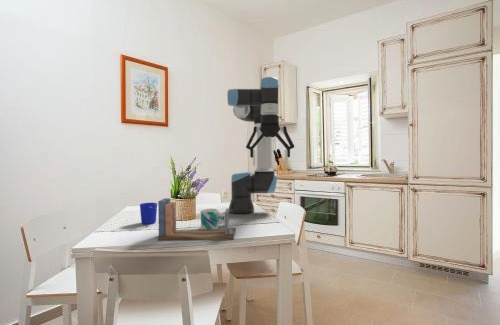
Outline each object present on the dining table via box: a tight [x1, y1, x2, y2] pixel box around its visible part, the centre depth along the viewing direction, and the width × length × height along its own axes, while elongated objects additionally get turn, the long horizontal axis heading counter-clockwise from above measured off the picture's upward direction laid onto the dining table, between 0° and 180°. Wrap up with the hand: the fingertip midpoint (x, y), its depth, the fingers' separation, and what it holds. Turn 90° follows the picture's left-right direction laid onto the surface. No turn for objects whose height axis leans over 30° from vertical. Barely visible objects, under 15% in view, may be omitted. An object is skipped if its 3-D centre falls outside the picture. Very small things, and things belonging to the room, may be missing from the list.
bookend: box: [224, 208, 237, 236], centre depth 120 cm, size 9×4×9 cm, turn 1°
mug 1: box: [139, 202, 158, 225], centre depth 143 cm, size 8×12×10 cm
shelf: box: [157, 197, 235, 241], centre depth 120 cm, size 12×30×15 cm, turn 91°
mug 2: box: [200, 208, 225, 230], centre depth 135 cm, size 8×12×8 cm
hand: (270, 165), depth 122 cm, fingers open, 13 cm apart
